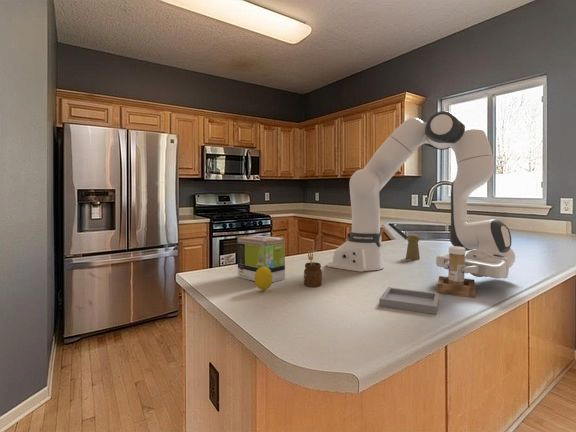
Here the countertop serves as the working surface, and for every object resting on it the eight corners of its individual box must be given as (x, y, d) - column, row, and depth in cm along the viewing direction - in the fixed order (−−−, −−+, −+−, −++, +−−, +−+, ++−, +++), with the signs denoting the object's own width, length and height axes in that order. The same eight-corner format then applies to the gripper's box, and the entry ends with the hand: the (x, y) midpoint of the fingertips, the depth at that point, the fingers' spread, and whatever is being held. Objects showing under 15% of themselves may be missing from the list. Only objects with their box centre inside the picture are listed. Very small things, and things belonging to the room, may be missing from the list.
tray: (379, 306, 89) (379, 298, 89) (388, 293, 100) (388, 287, 100) (436, 314, 83) (436, 306, 83) (439, 300, 94) (439, 293, 93)
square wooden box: (437, 292, 100) (437, 283, 100) (439, 284, 109) (439, 276, 109) (475, 297, 96) (475, 287, 95) (474, 288, 104) (474, 279, 104)
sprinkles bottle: (444, 288, 104) (445, 246, 103) (457, 288, 105) (458, 245, 104) (454, 293, 100) (455, 248, 99) (467, 292, 100) (469, 248, 100)
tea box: (286, 279, 118) (285, 237, 117) (265, 285, 111) (264, 240, 109) (257, 272, 128) (257, 234, 127) (236, 277, 121) (236, 236, 120)
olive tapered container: (421, 260, 147) (421, 235, 146) (406, 259, 148) (407, 235, 147) (418, 257, 153) (419, 233, 152) (404, 257, 154) (405, 233, 153)
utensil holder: (323, 283, 112) (323, 247, 111) (319, 288, 106) (319, 251, 105) (306, 281, 114) (306, 246, 113) (301, 286, 108) (301, 250, 107)
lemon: (254, 288, 106) (254, 264, 106) (272, 288, 107) (271, 263, 106) (254, 294, 101) (254, 268, 100) (272, 293, 101) (272, 267, 101)
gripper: (450, 248, 117) (425, 252, 110) (514, 258, 100) (489, 264, 93) (449, 266, 118) (424, 271, 110) (513, 279, 100) (488, 286, 93)
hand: (454, 268), depth 101 cm, fingers closed on sprinkles bottle, 4 cm apart
